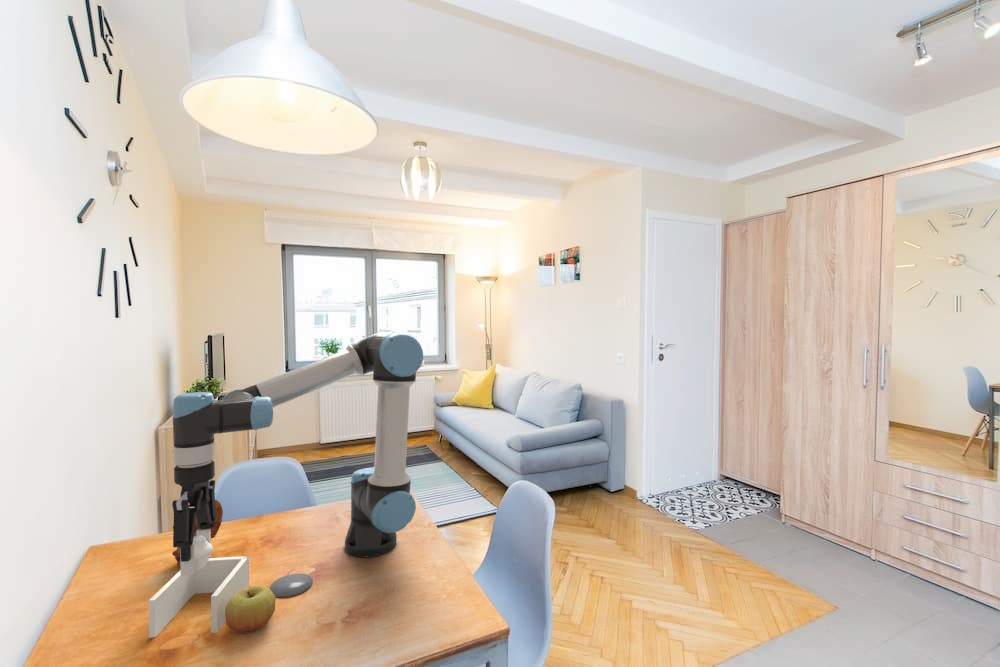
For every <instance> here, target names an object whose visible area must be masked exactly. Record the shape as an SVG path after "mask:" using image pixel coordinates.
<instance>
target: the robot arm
mask: <svg viewBox="0 0 1000 667" xmlns="http://www.w3.org/2000/svg"><path fill="white" fill-rule="evenodd" d="M421 345H422V344H421V343H420V342H419V341H418V340H417V338H415V336H412V335H411V334H408V333H405V332H401V331H395V332H394V331H393V332H391V331H382V332H378V333H374V334H372V335H370V336H367V337H365V338H364V339H361V340H359V341H356V342H354V343H352V344H348V345H347V346H346V349H345V350H342V351H340V352H338V353H335V354H332V355H329V356H326V357H324V358H321V359H319V360H317V361H314V362H311V363H309V364H306V365H303V366H300V367H297V368H295V369H292V370H290V371H288V372H284V373H282V374H279V375H277V376H274V377H271V378H269V379H266V380H264V381H261V382H258V383H255V384H254V385H251V386H248V387H245V388H242V389H241V388H240V389H234V390H232V391H231V390H230V391H229V392H228V393H227V394H226V395H225V396H224V397H223V399H219V400H218V399H215V398H214V394H213V393H212V392H209V391H208V392H207V391H202V392H200V391H196V392H194V391H193V392H187V393H186V392H185V393H181V394H178V395H176V396H175V397H174V399H173V401H172V402H173V405H172V406H173V407H172V434H173V436H172V437H173V448H172V453H173V462H174V465H175V466H174V468H173V480H174V484H175V485H179V486H180V487H181V491H180V497H179V499H177V500H173V501H172V504H171V505H172V510H173V526H172V529H173V530H172V531H173V532H172V533H173V534H172V536H173V537H172V540H173V541H172V545H173V546H172V547H173V548H177V547H180V570H181V575H190V574H195V573H196V543H193V538H194V531H195V523H196V517H197V522H198V527H199V528H201V529H200V530H197V531H196V536H204V537H205V538H206V541H208V542H209V543H210V544H211V545H212V538H211V529H210V528H214V527H215V525H216V523H212V522H214V521H215V520H216V511H215V500H216V499H215V498H216V497H215V495H216V494H215V487H216V480H215V479H214V478H215V475H216V473H215V472H216V468H215V465H216V464H215V461H214V459H215V457H216V456H215V455H216V454H215V450H216V449H215V435H216V434H223V433H224V434H225V433H235V432H243V431H252V430H254V431H256V430H260V429H265V428H269V427H271V426H272V425H273V421H274V408H277V407H278V406H282V405H283V404H286V403H288V402H291V401H293V400H296V399H298V398H301V397H303V396H305V395H308V394H310V393H313V392H316V391H318V390H320V389H322V388H324V387H327V386H330V385H333V384H334V383H335V384H336V383H337V382H340V381H343V380H344V379H347V378H349V377H351V376H354V375H357V376H360V377H361V376H363V375H366V374H369V373H372V372H373V373H372V381H373V382H374V383H375V384H376V385H377V388H378V389H377V402H376V403H377V408H376V409H377V410H376V426H375V445H374V446H375V447H374V466H372V467H364V468H361V469H358V470H355V471H354V472H353V473H352V474H351V480H350V500H351V501H350V522H349V526H348V530H347V532H346V533H347V534H346V536H345V538H344V551H345V552H346V553H347V554H349V555H351V556H354V557H360V558H369V557H370V558H371V557H376V556H377V557H378V556H381V555H383V554H386V553H387V552H390V551H391V550H393V549H394V548H395V547H396V545H397V543H396V542H397V539H398V538H397V532H400V531H401V530H403V529H405V528H406V527H407V526H408V525H409V523H411V521H412V520H413V518H414V516H415V513H416V510H417V504H416V501H415V498H414V496H413V495H412V494H411V483H412V482H411V480H412V478H411V476H410V475H409V474H408V473H407V472H406V470H407V469H406V468H407V451H408V450H407V449H408V448H407V447H408V433H409V432H408V429H409V426H408V425H409V410H410V409H409V408H410V406H409V405H410V390H411V387H412V385H413V384H415V383H416V380H417V371H418V370H419V369H421V367H422V365H423V360H424V351H423V348H422V346H421ZM210 558H212V555H211V556H210Z"/></svg>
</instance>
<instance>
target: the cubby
mask: <svg viewBox="0 0 1000 667" xmlns="http://www.w3.org/2000/svg"><path fill="white" fill-rule="evenodd" d="M247 587H250V555H244V556H230V557H229V556H226V557H210V558H209V560H208V562H207V563H206V565H205V567H203V568H201V569H198V570H196V573H195V574H190V575H181V569H180V570H179V571H178V572H176V574H175V575H174V576H173V577H172V578H170V579H169V581H167V583H166V584H164V585H163V586H162V587H161V588H160V589H159V590H158V591H157V592H155V594H154V595H152V596H151V598H150V599H148V639H152V638H156V637H157V636H158V635H159V634H160V633H161V632H162V630H164V628H165V627H166V626H167V625H168V624H169V622H171V620H173V618H174V617H175V616H176V615H177V614H178V613H179V611H181V609H182V608H183V607H184V606H185V605H186V604H187V602H189V601H190V600H191V599H192V597H193V596H194V595H195V594H210V593H212V594H211V596H210V599H211V600H210V603H211V604H210V609H211V610H210V613H211V614H210V615H211V616H210V634H215V633H218V632H219V631H220V629H221V628H222V627H223V625H224V624H225V623H226V618H225V608H226V606H227V604H228V602H229V600H230V599H231V597H232V596H233V595H234V594H236V593H237V592H238V591H240V590H242V589H244V588H247Z"/></svg>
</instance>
